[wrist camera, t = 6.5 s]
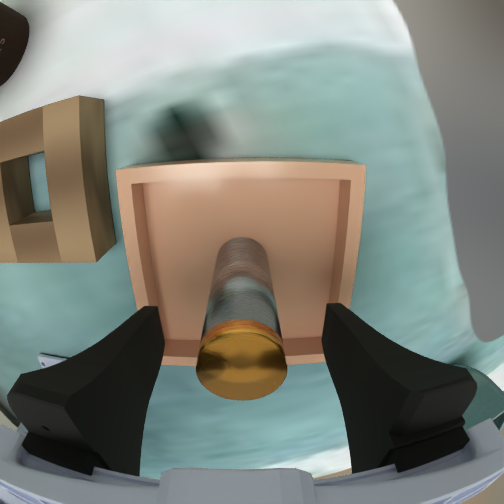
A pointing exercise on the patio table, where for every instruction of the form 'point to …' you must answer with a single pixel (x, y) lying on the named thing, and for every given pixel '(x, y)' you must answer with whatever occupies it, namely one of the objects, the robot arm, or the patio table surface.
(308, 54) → the patio table surface
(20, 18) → the coffee mug
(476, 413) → the flower pot
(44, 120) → the block
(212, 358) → the pin
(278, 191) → the dish
